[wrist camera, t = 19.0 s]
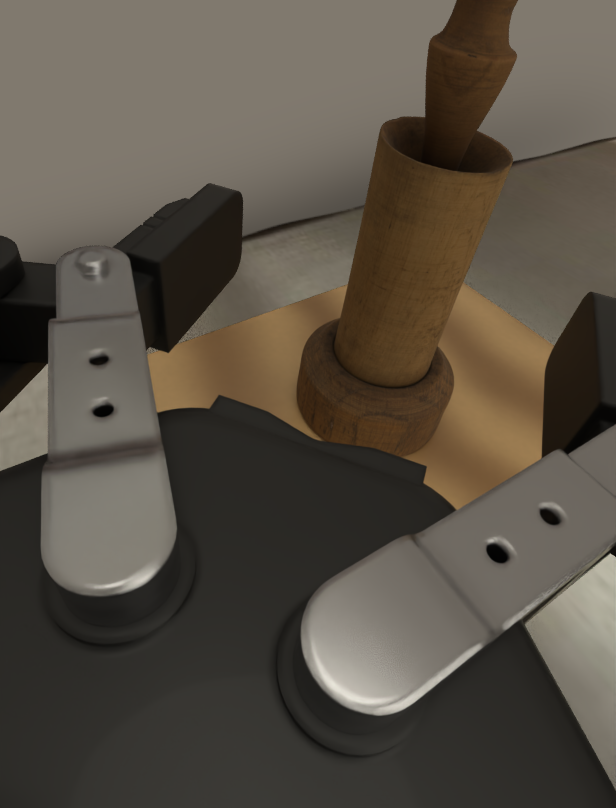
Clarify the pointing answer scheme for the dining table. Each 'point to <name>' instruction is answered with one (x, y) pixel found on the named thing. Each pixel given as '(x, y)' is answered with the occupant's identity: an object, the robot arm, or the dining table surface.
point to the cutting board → (461, 421)
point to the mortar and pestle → (414, 248)
